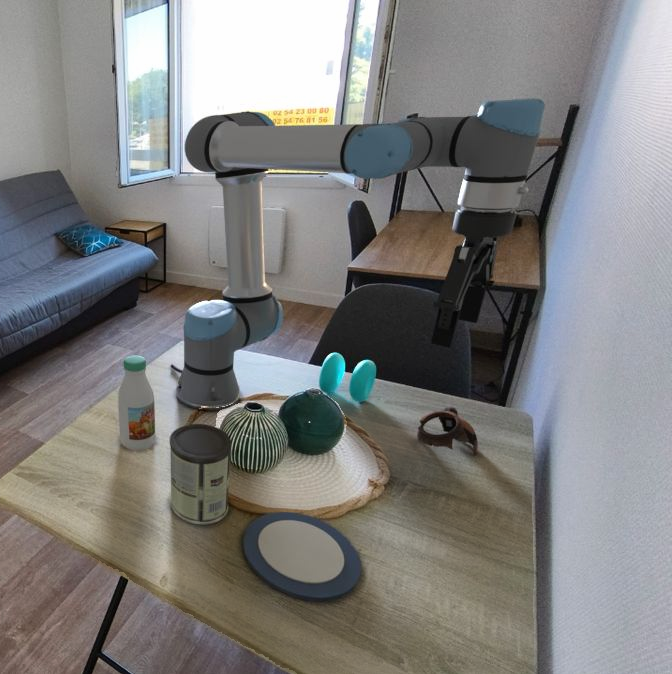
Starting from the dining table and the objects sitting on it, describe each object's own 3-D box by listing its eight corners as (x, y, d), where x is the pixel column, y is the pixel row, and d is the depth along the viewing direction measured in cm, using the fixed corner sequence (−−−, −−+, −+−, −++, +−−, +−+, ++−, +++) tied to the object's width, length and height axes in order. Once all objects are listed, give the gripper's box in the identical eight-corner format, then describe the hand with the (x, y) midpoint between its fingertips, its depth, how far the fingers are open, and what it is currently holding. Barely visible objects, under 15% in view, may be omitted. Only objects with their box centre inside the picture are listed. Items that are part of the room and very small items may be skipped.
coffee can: (187, 478, 98) (188, 417, 93) (237, 500, 92) (242, 435, 86) (158, 508, 91) (157, 444, 86) (210, 534, 85) (213, 466, 79)
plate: (222, 557, 80) (222, 551, 80) (273, 501, 91) (274, 496, 90) (333, 624, 69) (334, 618, 68) (377, 551, 79) (378, 545, 79)
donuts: (360, 410, 114) (367, 371, 110) (314, 397, 121) (319, 360, 117) (373, 392, 121) (380, 355, 117) (329, 381, 127) (334, 345, 123)
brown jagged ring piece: (484, 467, 95) (469, 437, 92) (426, 470, 101) (410, 442, 99) (479, 422, 103) (465, 392, 100) (425, 427, 109) (411, 400, 107)
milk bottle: (116, 448, 109) (111, 366, 101) (124, 428, 115) (120, 350, 107) (151, 453, 106) (149, 369, 98) (158, 432, 113) (156, 352, 105)
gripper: (492, 225, 69) (456, 363, 77) (537, 197, 83) (502, 316, 91) (429, 220, 74) (402, 349, 83) (481, 194, 88) (453, 307, 97)
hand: (454, 332), depth 87 cm, fingers open, 13 cm apart
